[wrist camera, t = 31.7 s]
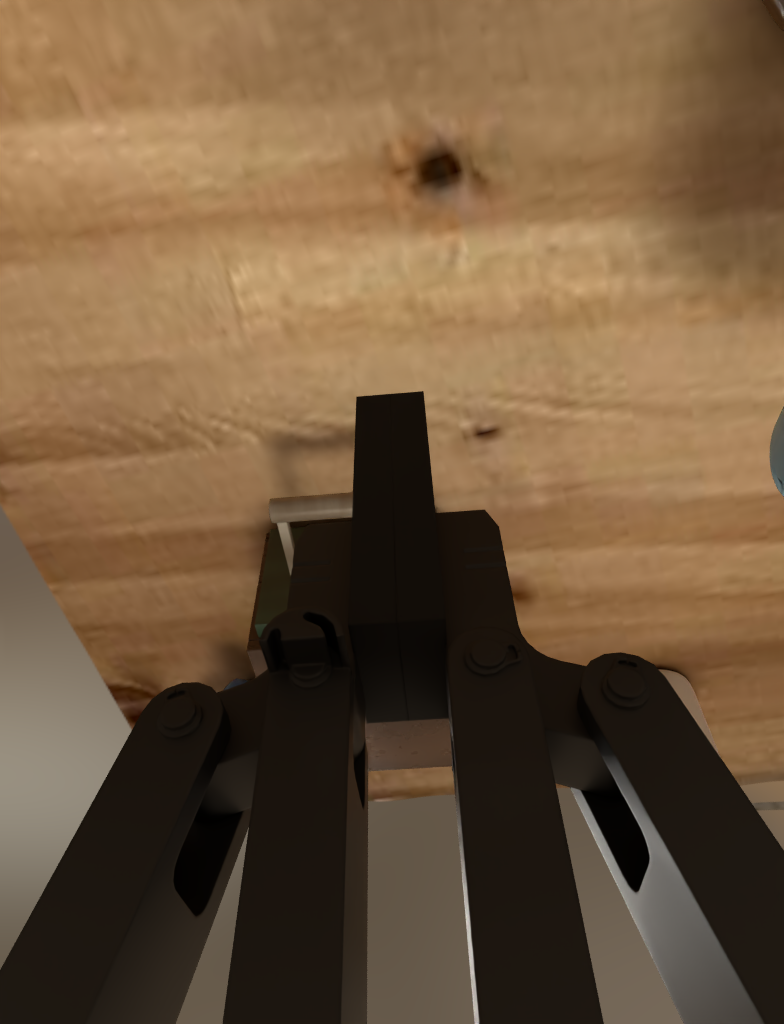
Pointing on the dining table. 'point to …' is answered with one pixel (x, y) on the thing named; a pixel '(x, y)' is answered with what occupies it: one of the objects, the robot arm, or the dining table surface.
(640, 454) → the dining table surface
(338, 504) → the drawer
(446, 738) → the cabinet
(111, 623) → the dining table surface
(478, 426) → the dining table surface
